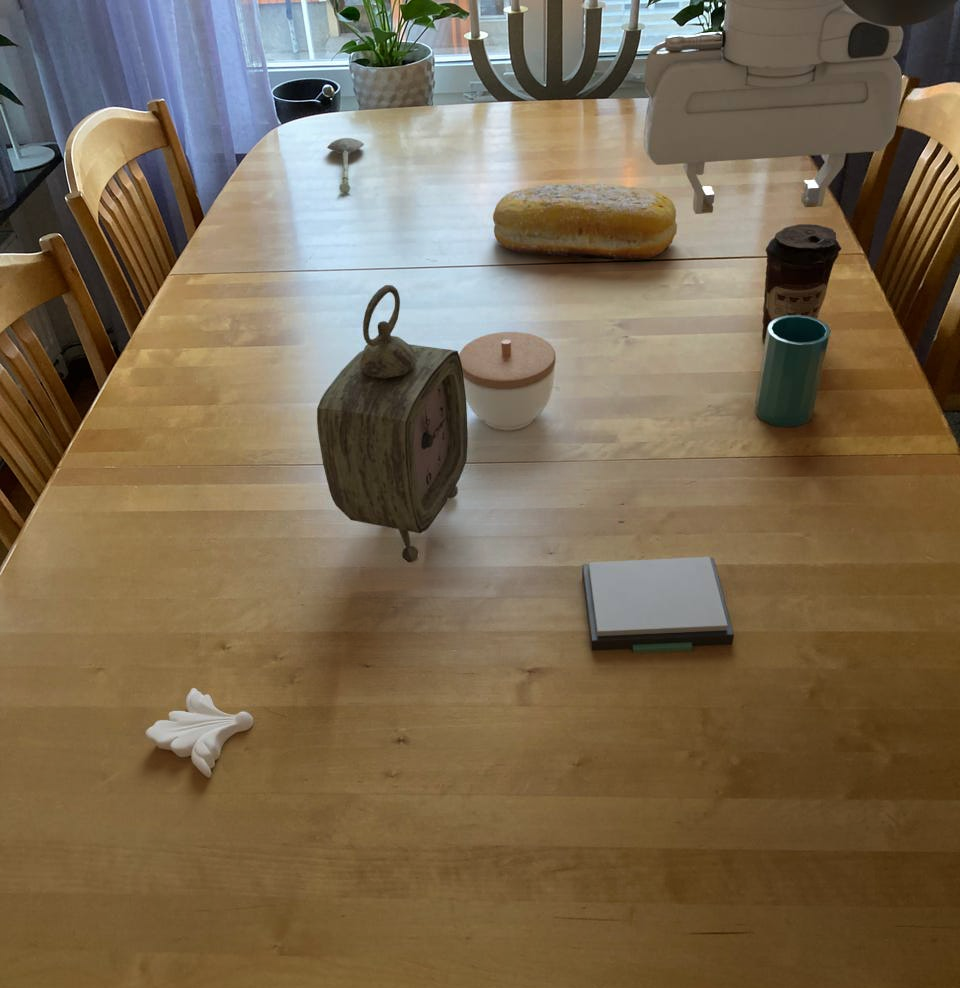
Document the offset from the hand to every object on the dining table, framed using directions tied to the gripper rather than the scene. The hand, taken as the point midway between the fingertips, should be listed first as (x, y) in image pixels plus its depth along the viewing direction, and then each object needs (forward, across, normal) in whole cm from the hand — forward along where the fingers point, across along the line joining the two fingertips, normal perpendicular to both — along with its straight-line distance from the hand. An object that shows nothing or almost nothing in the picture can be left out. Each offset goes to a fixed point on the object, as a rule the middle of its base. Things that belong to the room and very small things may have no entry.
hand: (756, 208), depth 87 cm
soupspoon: (+27, -48, +92) cm, 107 cm away
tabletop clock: (+27, -33, -8) cm, 44 cm away
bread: (+27, -10, +56) cm, 63 cm away
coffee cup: (+27, +13, +26) cm, 39 cm away
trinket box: (+27, -22, +12) cm, 37 cm away
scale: (+27, -10, -24) cm, 37 cm away
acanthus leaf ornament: (+27, -49, -34) cm, 66 cm away
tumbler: (+27, +9, +10) cm, 30 cm away
